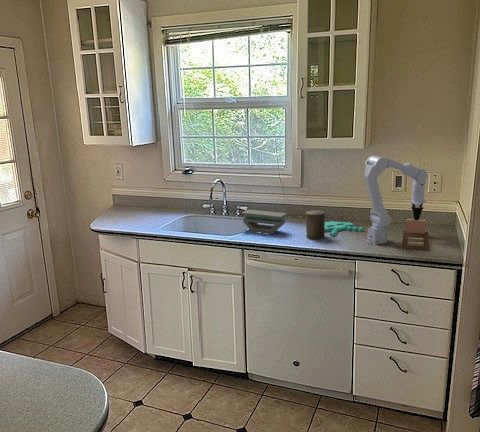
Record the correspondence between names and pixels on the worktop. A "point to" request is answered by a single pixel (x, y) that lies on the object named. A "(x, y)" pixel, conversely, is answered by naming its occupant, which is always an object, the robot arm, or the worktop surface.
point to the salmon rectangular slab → (416, 226)
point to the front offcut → (416, 243)
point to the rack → (415, 235)
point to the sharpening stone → (263, 220)
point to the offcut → (415, 239)
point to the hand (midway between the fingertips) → (416, 218)
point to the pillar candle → (315, 224)
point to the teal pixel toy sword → (340, 227)
